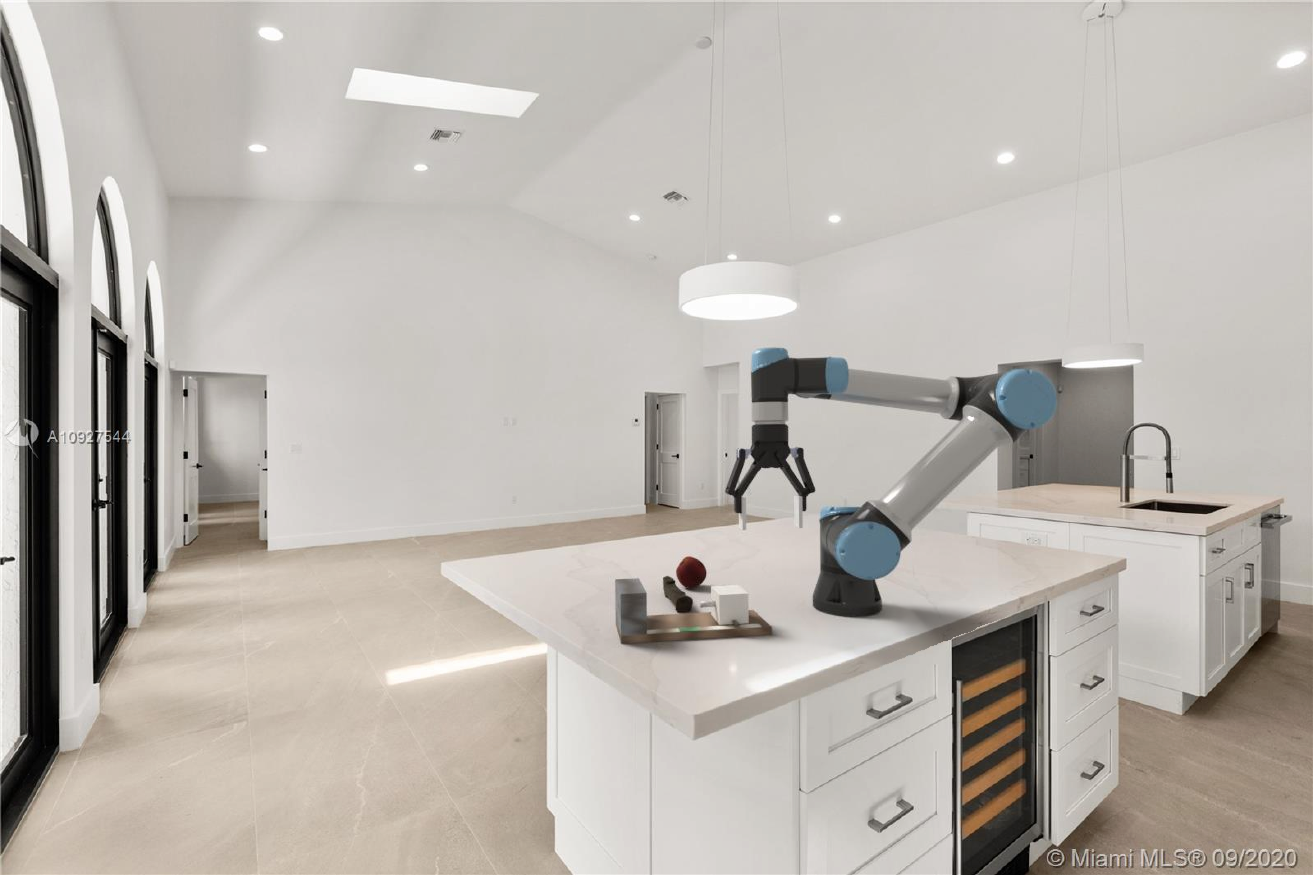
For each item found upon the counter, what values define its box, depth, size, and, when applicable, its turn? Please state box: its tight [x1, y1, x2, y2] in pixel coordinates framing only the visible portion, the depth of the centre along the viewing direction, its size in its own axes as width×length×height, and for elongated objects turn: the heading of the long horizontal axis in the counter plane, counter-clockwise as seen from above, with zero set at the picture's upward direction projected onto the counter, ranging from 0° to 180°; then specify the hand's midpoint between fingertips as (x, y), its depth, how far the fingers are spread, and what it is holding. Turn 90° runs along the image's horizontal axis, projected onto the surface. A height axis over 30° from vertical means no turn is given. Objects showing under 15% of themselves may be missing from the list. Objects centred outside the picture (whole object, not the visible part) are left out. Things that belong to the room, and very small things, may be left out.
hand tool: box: [662, 575, 694, 614], centre depth 149 cm, size 19×4×5 cm, turn 10°
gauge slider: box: [699, 584, 749, 626], centre depth 128 cm, size 9×10×6 cm
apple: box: [675, 555, 707, 589], centre depth 161 cm, size 7×8×8 cm
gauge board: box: [614, 577, 773, 645], centre depth 128 cm, size 30×12×10 cm, turn 99°
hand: (770, 528), depth 130 cm, fingers open, 11 cm apart
